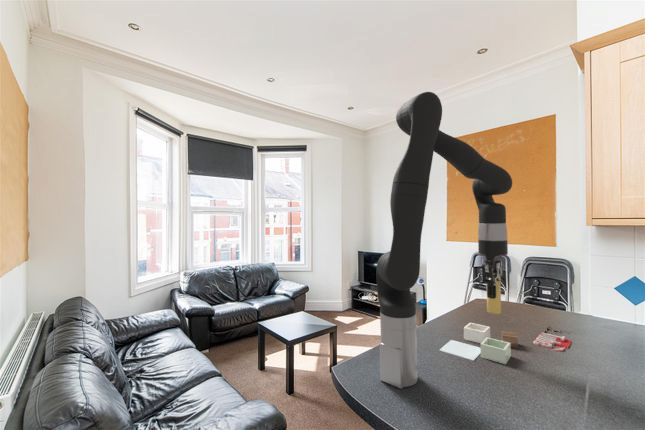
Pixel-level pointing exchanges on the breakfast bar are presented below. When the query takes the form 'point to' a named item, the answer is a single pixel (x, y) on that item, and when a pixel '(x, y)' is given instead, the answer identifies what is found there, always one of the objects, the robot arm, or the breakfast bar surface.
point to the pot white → (476, 332)
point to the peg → (495, 301)
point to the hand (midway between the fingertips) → (493, 296)
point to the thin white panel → (461, 350)
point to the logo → (552, 341)
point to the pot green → (495, 350)
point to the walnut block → (510, 338)
